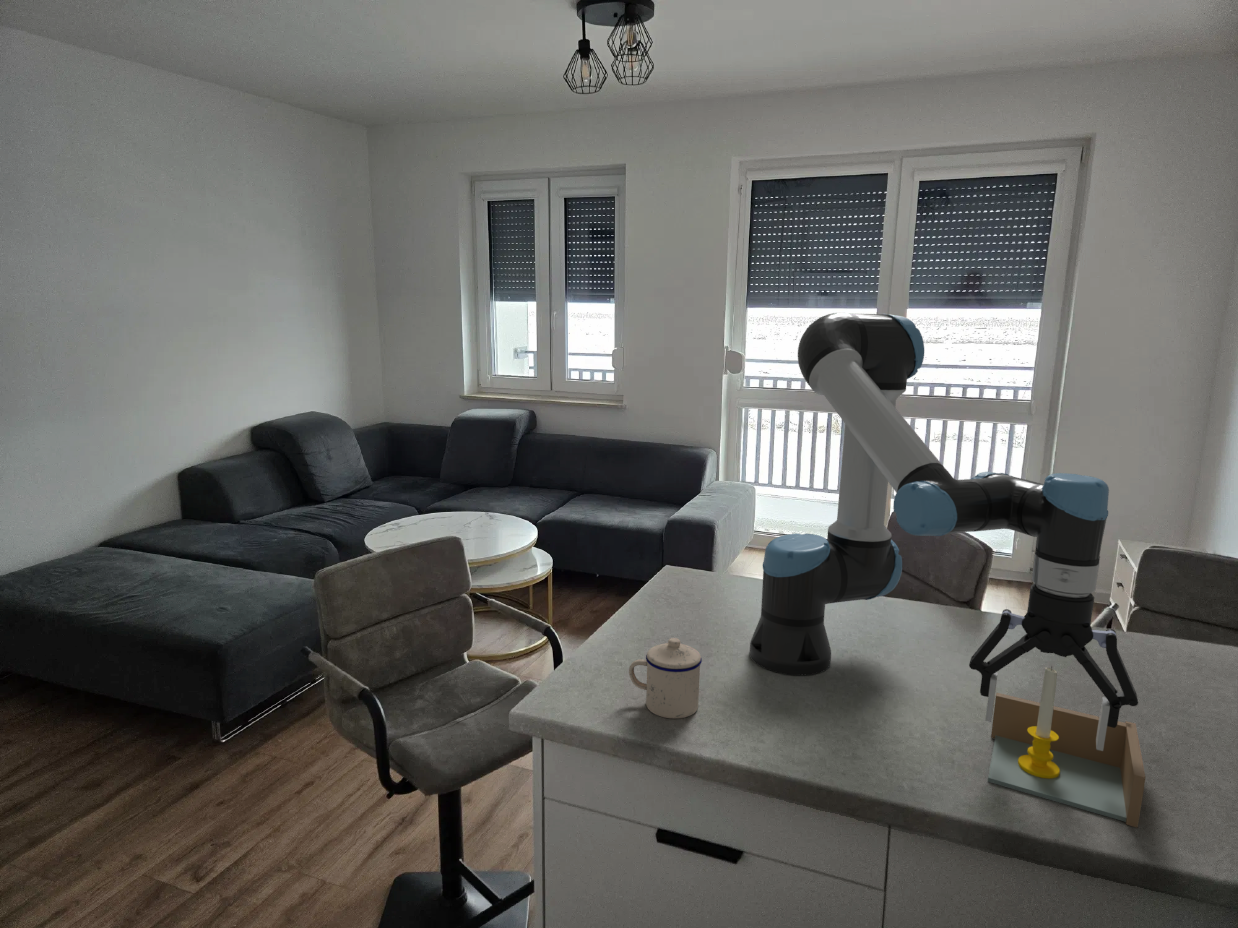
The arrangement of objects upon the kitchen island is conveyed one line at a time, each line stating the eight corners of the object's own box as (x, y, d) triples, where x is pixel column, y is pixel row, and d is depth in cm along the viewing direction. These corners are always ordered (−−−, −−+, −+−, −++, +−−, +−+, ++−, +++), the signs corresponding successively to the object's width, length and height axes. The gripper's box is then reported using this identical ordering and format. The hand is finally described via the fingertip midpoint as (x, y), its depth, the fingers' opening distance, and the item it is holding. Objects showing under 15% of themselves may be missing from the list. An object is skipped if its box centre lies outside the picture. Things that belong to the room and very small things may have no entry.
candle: (1047, 758, 107) (1060, 658, 105) (1067, 779, 102) (1081, 674, 100) (1010, 756, 108) (1023, 656, 105) (1029, 778, 102) (1042, 673, 100)
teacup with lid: (703, 697, 125) (706, 632, 123) (694, 724, 116) (697, 655, 114) (635, 686, 128) (637, 623, 126) (621, 712, 119) (622, 644, 117)
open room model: (982, 782, 102) (987, 735, 101) (991, 732, 115) (996, 690, 114) (1137, 827, 93) (1145, 777, 92) (1128, 767, 106) (1135, 723, 105)
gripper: (959, 578, 103) (943, 717, 107) (1179, 616, 91) (1152, 772, 95) (965, 564, 110) (950, 695, 114) (1172, 598, 97) (1147, 745, 101)
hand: (1042, 731), depth 104 cm, fingers open, 13 cm apart
